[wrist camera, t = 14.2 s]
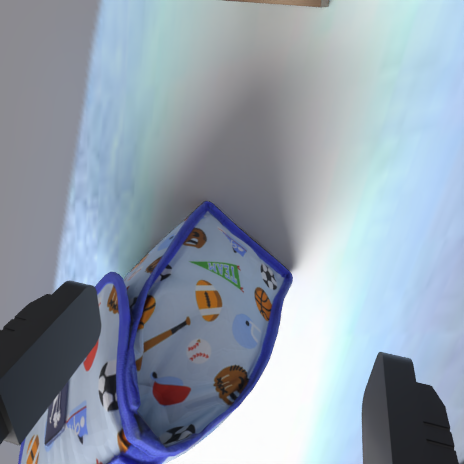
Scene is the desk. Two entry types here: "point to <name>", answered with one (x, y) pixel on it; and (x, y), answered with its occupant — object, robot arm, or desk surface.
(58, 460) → the lunch bag
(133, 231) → the desk surface
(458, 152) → the desk surface
